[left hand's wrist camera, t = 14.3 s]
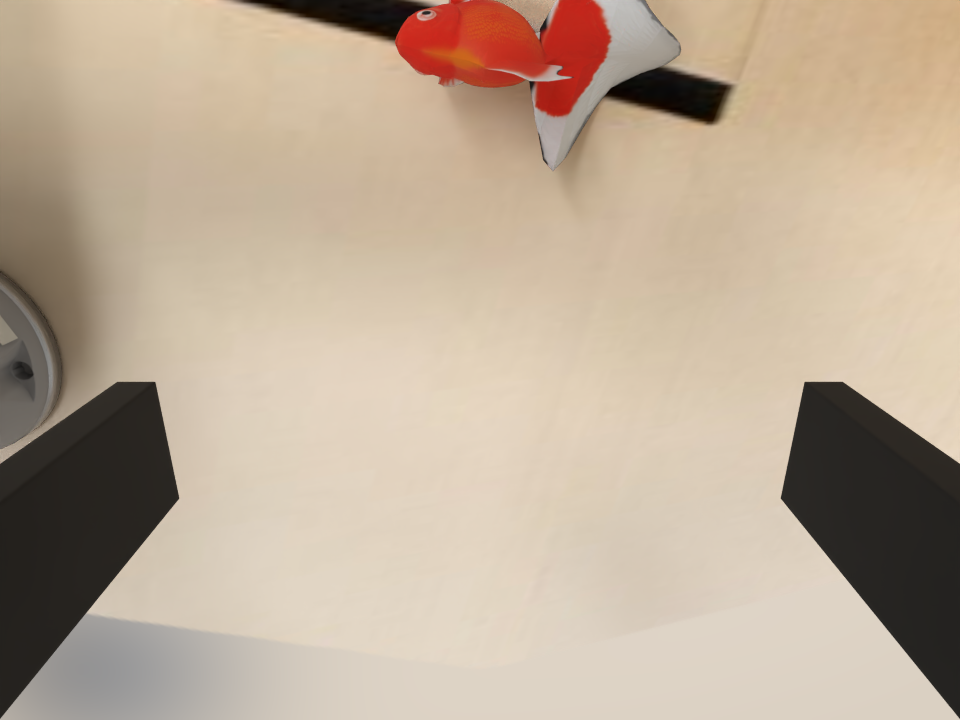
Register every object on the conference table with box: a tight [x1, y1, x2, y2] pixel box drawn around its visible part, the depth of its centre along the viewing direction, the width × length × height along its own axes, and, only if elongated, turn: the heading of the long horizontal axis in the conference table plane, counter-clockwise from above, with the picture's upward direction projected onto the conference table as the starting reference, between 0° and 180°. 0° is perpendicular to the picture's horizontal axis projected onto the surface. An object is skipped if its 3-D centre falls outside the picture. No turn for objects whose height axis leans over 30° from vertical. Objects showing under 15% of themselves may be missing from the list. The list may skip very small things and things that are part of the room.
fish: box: [395, 0, 681, 171], centre depth 33 cm, size 11×16×10 cm
